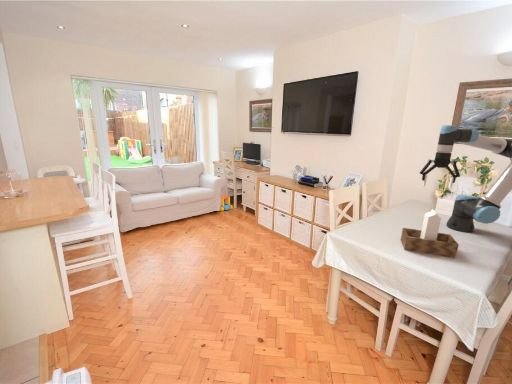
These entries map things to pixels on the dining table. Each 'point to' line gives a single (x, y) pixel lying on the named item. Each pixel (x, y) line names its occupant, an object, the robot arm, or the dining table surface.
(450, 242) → the crate
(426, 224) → the milk
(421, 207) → the dining table surface
